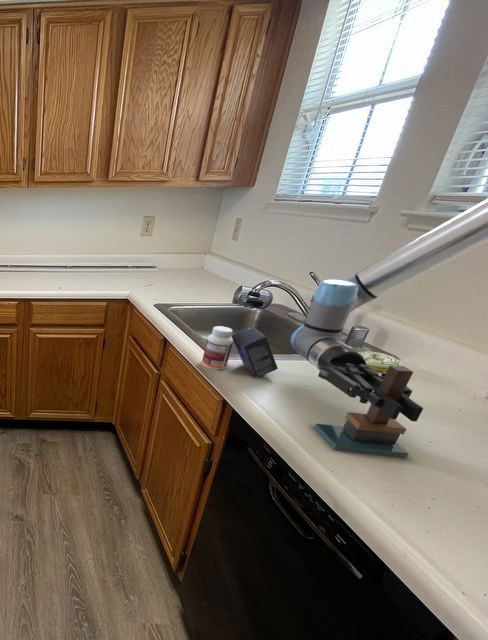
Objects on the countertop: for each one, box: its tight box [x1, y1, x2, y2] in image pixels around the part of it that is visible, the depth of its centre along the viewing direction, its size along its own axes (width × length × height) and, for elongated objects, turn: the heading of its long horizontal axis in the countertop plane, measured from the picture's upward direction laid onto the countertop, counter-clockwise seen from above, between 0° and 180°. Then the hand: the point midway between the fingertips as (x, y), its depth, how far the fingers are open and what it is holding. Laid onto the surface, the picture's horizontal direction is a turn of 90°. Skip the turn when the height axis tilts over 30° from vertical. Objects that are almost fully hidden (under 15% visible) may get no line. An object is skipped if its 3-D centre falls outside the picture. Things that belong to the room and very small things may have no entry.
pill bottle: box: [201, 325, 234, 370], centre depth 114 cm, size 6×6×11 cm
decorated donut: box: [357, 351, 403, 373], centre depth 115 cm, size 10×11×4 cm
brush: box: [343, 365, 414, 445], centre depth 79 cm, size 8×5×15 cm, turn 78°
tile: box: [313, 423, 409, 459], centre depth 83 cm, size 12×8×2 cm, turn 78°
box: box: [231, 325, 279, 378], centre depth 110 cm, size 8×6×11 cm
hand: (406, 413), depth 73 cm, fingers closed on brush, 2 cm apart
